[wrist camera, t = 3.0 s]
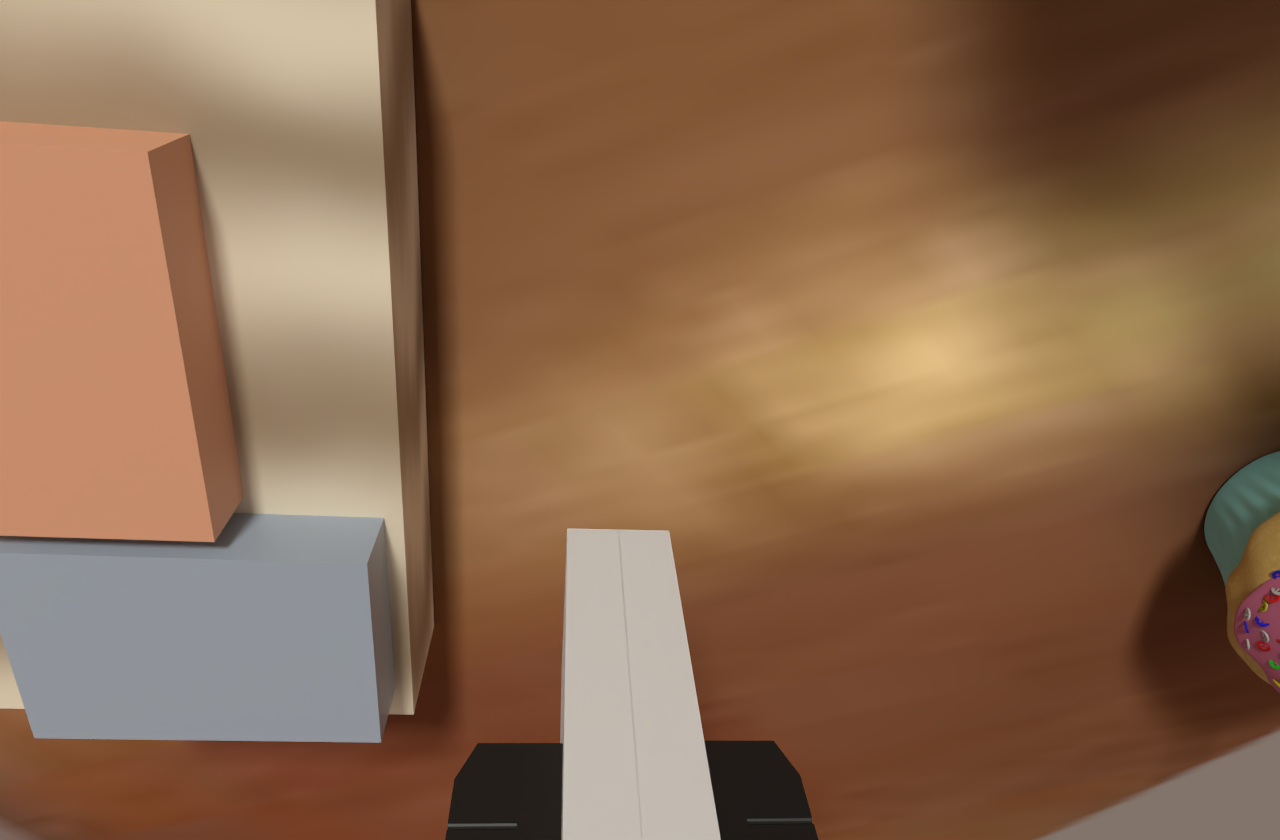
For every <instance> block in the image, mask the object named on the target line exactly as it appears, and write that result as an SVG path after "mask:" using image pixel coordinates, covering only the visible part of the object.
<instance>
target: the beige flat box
mask: <svg viewBox="0 0 1280 840" xmlns="http://www.w3.org/2000/svg"><path fill="white" fill-rule="evenodd" d="M0 121H6V122H20V123H35V124H50V125H65V126H79V127H94V128H109V129H124V130H138V131H153V132H168V133H183V134H189V135H190V142H191V148H192V155H193V162H194V168H195V175H196V182H197V188H198V195H199V202H200V209H201V215H202V222H203V229H204V235H205V242H206V249H207V255H208V262H209V269H210V275H211V282H212V289H213V295H214V302H215V309H216V315H217V322H218V329H219V335H220V342H221V349H222V355H223V362H224V369H225V375H226V382H227V389H228V395H229V402H230V409H231V415H232V422H233V429H234V435H235V442H236V449H237V456H238V462H239V469H240V476H241V482H242V489H243V496H244V497H243V499H242V500H241V502H240V503H239V505H238V507H237V508H236V510H235V511H234V513H252V514H282V515H312V516H342V517H371V518H384V528H385V543H386V558H387V573H388V588H389V604H390V619H391V634H392V649H393V664H394V680H395V692H394V695H393V699H392V703H391V707H390V711H389V714H404V715H414V712H415V707H416V703H417V699H418V694H419V690H420V686H421V681H422V677H423V673H424V668H425V664H426V659H427V655H428V651H429V646H430V642H431V638H432V633H433V629H434V605H433V578H432V552H431V525H430V498H429V471H428V444H427V418H426V391H425V364H424V337H423V310H422V284H421V257H420V230H419V203H418V176H417V149H416V123H415V96H414V69H413V42H412V15H411V0H0ZM0 708H15V709H25V708H24V705H23V702H22V699H21V696H20V692H19V689H18V686H17V683H16V680H15V677H14V674H13V671H12V668H11V665H10V662H9V659H8V655H7V652H6V649H5V646H4V643H3V640H2V637H1V634H0Z"/></svg>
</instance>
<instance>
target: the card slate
mask: <svg viewBox="0 0 1280 840" xmlns="http://www.w3.org/2000/svg"><path fill="white" fill-rule="evenodd" d="M0 634H1V637H2V640H3V643H4V646H5V649H6V652H7V655H8V659H9V662H10V665H11V668H12V671H13V674H14V677H15V680H16V683H17V686H18V689H19V692H20V696H21V699H22V702H23V705H24V708H25V711H26V714H27V717H28V720H29V723H30V726H31V730H32V733H33V736H34V738H60V739H138V740H216V741H294V742H373V743H381V741H382V737H383V733H384V730H385V726H386V722H387V718H388V714H389V711H390V707H391V703H392V699H393V695H394V692H395V680H394V664H393V649H392V634H391V619H390V604H389V588H388V573H387V558H386V543H385V528H384V518H371V517H342V516H312V515H282V514H252V513H233V514H232V516H231V517H230V519H229V521H228V522H227V524H226V525H225V527H224V528H223V530H222V531H221V533H220V535H219V536H218V538H217V539H216V541H215V542H192V541H159V540H127V539H94V538H62V537H30V536H0Z"/></svg>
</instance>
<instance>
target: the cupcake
mask: <svg viewBox="0 0 1280 840" xmlns="http://www.w3.org/2000/svg"><path fill="white" fill-rule="evenodd" d="M1204 533H1205V539H1206V542H1207V545H1208V547H1209V549H1210V551H1211V553H1212V555H1213V557H1214V559H1215V561H1216V563H1217V565H1218V567H1219V570H1220V572H1221V574H1222V577H1223V581H1224V584H1225V590H1226V598H1227V636H1228V639H1229V642H1230V644H1231V645H1232V647H1233V648H1234V650H1235V651H1236V652H1237V654H1238V655H1239V656H1240V657H1241V658H1242V659H1243V660H1244V661H1245V663H1246V664H1247V665H1248V666H1249V667H1250V668H1251V670H1252V671H1253V672H1254V673H1255V674H1256V675H1257V676H1259V677H1260V678H1261V679H1262V680H1264V681H1265V682H1267V683H1268V684H1270V685H1272V687H1273V688H1274V689H1275V690H1276V691H1277V692H1279V693H1280V451H1277V452H1274V453H1271V454H1268V455H1266V456H1263V457H1261V458H1259V459H1257V460H1255V461H1253V462H1251V463H1250V464H1248V465H1246V466H1245V467H1243V468H1242V469H1241V470H1239V471H1238V472H1237V473H1235V474H1234V475H1233V476H1232V477H1231V478H1230V479H1229V480H1228V481H1227V482H1226V483H1225V484H1224V485H1223V486H1222V487H1221V489H1220V490H1219V491H1218V492H1217V494H1216V495H1215V497H1214V499H1213V500H1212V502H1211V504H1210V506H1209V509H1208V511H1207V514H1206V518H1205V525H1204Z"/></svg>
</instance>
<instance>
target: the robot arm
mask: <svg viewBox="0 0 1280 840" xmlns="http://www.w3.org/2000/svg"><path fill="white" fill-rule="evenodd" d="M445 840H818V837H817V834H816V830H815V827H814V824H812V821H811V812H810V809H809V805H808V802H807V798H806V795H805V791H804V788H803V784H802V780H801V777H800V775H799V773H798V772H797V771H796V769H795V768H794V767H793V766H792V764H791V763H790V762H789V760H788V759H787V758H786V756H785V755H784V754H783V753H782V751H781V750H780V749H779V747H778V746H777V745H776V743H775V742H774V741H704V736H703V731H702V725H701V719H700V713H699V707H698V701H697V695H696V689H695V683H694V677H693V671H692V665H691V659H690V653H689V647H688V641H687V635H686V629H685V623H684V617H683V611H682V605H681V599H680V594H679V588H678V582H677V576H676V570H675V564H674V558H673V552H672V546H671V540H670V534H669V531H659V530H612V529H567V547H566V573H565V599H564V625H563V651H562V683H561V733H560V743H478V744H477V745H476V747H475V749H474V750H473V752H472V753H471V755H470V756H469V758H468V759H467V761H466V762H465V764H464V765H463V767H462V769H461V770H460V772H459V773H458V775H457V776H456V778H455V779H454V786H453V792H452V799H451V806H450V812H449V819H448V830H447V832H446V839H445Z"/></svg>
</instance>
